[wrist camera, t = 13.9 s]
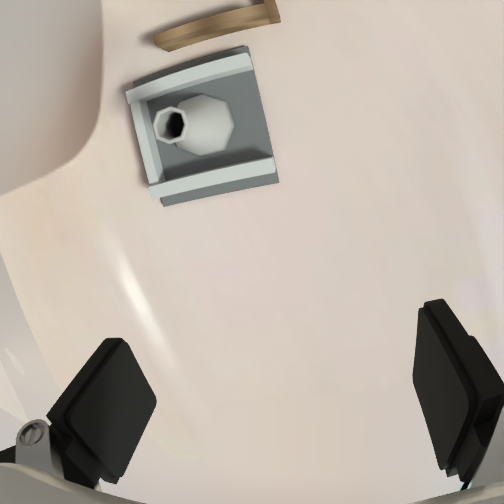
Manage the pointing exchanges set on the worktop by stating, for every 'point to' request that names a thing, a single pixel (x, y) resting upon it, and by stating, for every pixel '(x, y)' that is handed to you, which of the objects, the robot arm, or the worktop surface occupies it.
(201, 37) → the wooden u-shaped bracket
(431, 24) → the worktop surface
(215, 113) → the flask
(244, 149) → the dock
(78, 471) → the robot arm
